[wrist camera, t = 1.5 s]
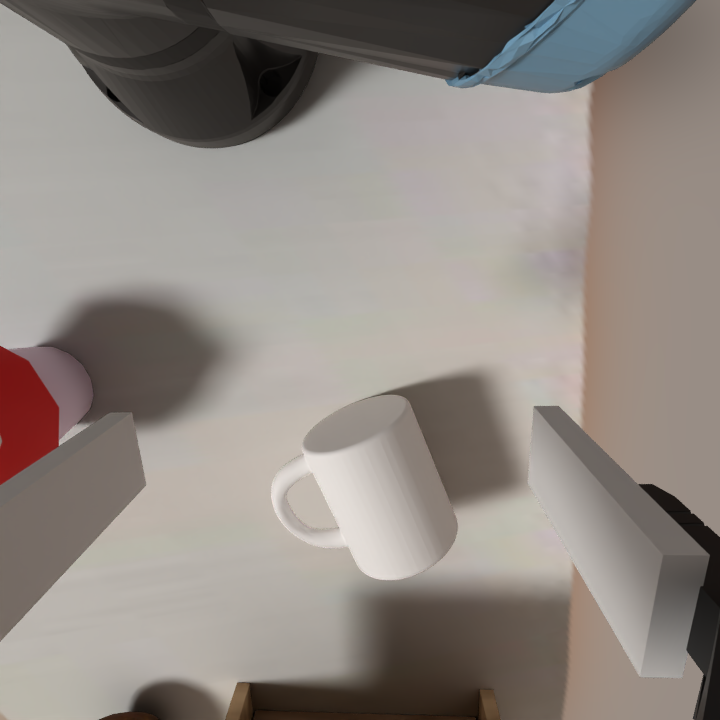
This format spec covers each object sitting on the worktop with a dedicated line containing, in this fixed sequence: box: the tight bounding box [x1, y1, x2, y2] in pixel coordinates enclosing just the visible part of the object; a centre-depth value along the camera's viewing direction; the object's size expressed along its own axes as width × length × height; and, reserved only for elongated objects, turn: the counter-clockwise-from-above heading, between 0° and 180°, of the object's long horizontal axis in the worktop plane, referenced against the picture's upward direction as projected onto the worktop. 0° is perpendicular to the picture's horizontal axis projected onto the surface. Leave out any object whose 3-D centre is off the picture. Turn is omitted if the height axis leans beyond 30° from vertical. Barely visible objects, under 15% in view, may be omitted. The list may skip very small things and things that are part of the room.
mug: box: [271, 395, 458, 580], centre depth 31 cm, size 12×10×8 cm
